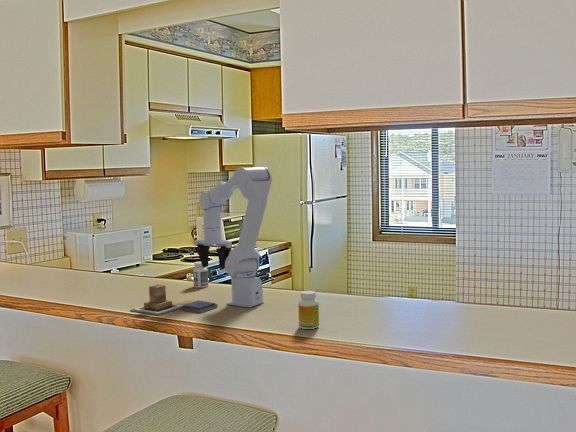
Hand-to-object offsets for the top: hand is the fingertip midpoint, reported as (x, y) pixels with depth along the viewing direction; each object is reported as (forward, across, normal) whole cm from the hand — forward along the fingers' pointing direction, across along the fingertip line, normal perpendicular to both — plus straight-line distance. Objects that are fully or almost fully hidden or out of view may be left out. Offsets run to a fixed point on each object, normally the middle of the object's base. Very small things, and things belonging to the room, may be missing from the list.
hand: (213, 267), depth 213 cm
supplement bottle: (+10, +49, -19) cm, 53 cm away
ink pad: (+9, +8, -17) cm, 21 cm away
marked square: (+9, -3, -24) cm, 25 cm away
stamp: (+9, -3, -24) cm, 25 cm away
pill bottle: (+10, -14, +9) cm, 19 cm away
